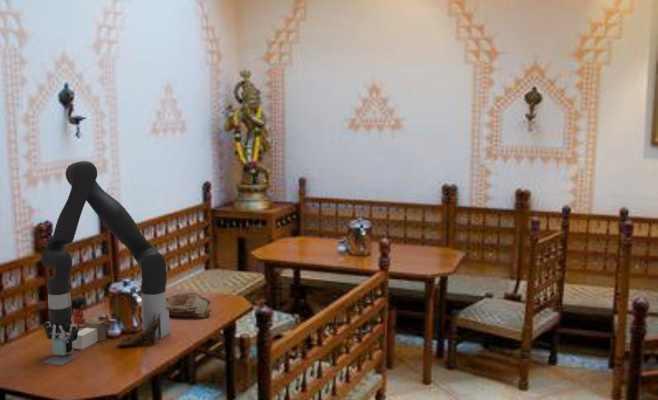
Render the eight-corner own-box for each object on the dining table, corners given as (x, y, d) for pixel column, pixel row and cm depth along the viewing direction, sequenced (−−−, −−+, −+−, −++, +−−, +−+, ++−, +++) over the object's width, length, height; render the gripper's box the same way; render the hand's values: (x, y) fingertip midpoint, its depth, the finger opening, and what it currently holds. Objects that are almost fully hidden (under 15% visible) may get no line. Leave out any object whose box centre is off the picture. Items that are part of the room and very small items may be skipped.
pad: (77, 357, 254) (77, 356, 254) (61, 365, 247) (61, 364, 247) (58, 354, 257) (58, 354, 257) (43, 362, 249) (42, 362, 249)
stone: (216, 301, 311) (214, 289, 310) (207, 319, 295) (206, 306, 293) (162, 303, 313) (161, 291, 311) (151, 321, 296) (149, 309, 294)
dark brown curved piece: (156, 317, 263) (115, 318, 263) (156, 346, 261) (115, 347, 262) (162, 317, 271) (123, 318, 271) (162, 345, 269) (122, 346, 270)
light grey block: (105, 339, 273) (104, 321, 272) (85, 349, 261) (84, 331, 260) (89, 336, 275) (88, 319, 274) (69, 347, 264) (67, 329, 263)
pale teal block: (73, 350, 257) (72, 337, 256) (63, 355, 252) (62, 341, 252) (62, 349, 259) (61, 335, 258) (53, 353, 254) (52, 340, 253)
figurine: (84, 328, 285) (82, 299, 283) (70, 328, 285) (68, 299, 283) (89, 323, 291) (87, 294, 289) (76, 323, 291) (74, 294, 290)
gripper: (83, 303, 254) (86, 350, 257) (50, 300, 259) (53, 345, 261) (69, 310, 247) (72, 357, 250) (35, 306, 252) (39, 352, 254)
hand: (63, 351), depth 255 cm, fingers closed on pale teal block, 4 cm apart
